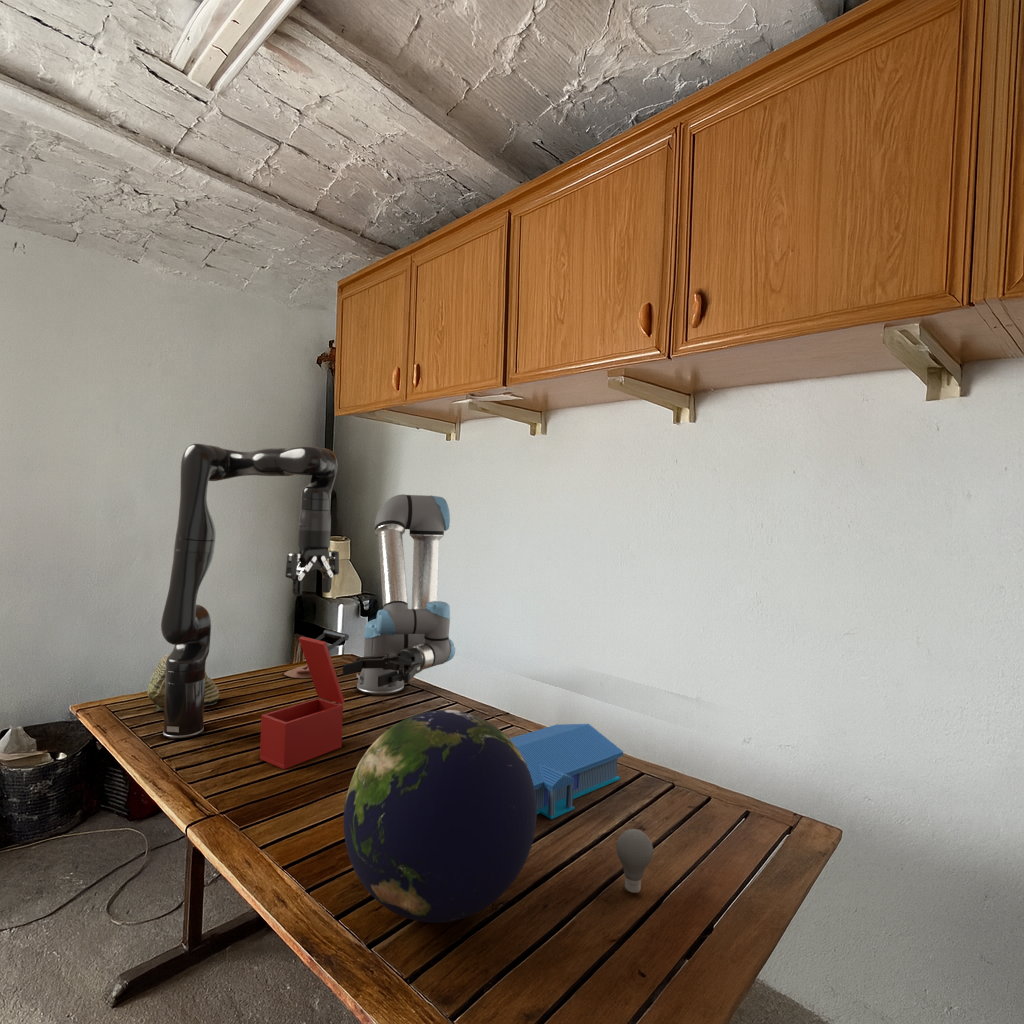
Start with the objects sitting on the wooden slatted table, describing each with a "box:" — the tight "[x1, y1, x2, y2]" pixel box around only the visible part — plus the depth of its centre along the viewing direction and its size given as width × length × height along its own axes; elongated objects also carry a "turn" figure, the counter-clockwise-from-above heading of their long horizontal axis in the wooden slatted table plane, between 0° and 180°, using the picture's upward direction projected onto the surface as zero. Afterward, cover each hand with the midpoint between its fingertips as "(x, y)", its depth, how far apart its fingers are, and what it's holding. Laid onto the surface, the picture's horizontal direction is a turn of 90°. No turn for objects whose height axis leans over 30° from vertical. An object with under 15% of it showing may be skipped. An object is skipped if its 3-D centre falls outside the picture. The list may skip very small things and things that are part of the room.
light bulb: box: [615, 828, 654, 894], centre depth 106 cm, size 6×6×10 cm
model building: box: [509, 723, 624, 820], centre depth 142 cm, size 39×24×10 cm, turn 132°
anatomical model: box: [283, 664, 312, 679], centre depth 222 cm, size 13×4×12 cm
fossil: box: [147, 654, 221, 712], centre depth 185 cm, size 9×18×15 cm, turn 132°
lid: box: [298, 629, 350, 705], centre depth 163 cm, size 18×9×8 cm
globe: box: [343, 709, 538, 924], centre depth 100 cm, size 30×30×30 cm
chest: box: [259, 697, 344, 770], centre depth 156 cm, size 17×9×11 cm, turn 146°
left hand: (312, 594), depth 156 cm, fingers open, 8 cm apart
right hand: (360, 675), depth 170 cm, fingers open, 13 cm apart
